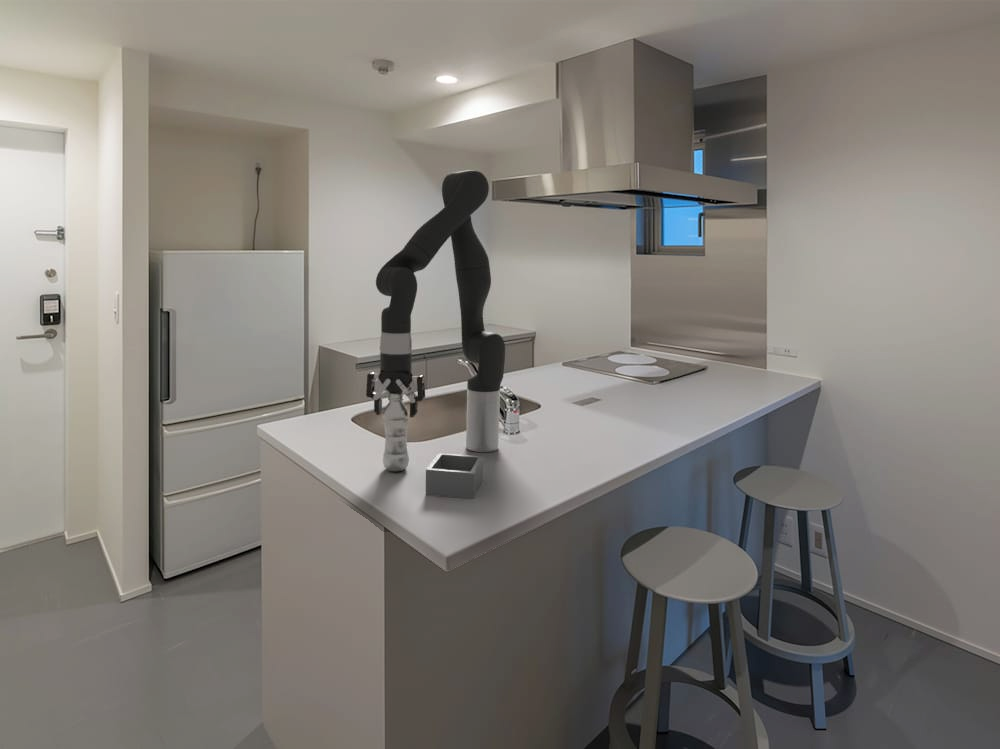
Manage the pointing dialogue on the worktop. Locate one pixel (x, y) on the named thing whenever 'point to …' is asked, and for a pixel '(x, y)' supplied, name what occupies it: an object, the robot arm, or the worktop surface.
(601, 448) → the worktop surface
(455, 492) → the storage caddy
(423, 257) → the robot arm
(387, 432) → the plastic bottle
